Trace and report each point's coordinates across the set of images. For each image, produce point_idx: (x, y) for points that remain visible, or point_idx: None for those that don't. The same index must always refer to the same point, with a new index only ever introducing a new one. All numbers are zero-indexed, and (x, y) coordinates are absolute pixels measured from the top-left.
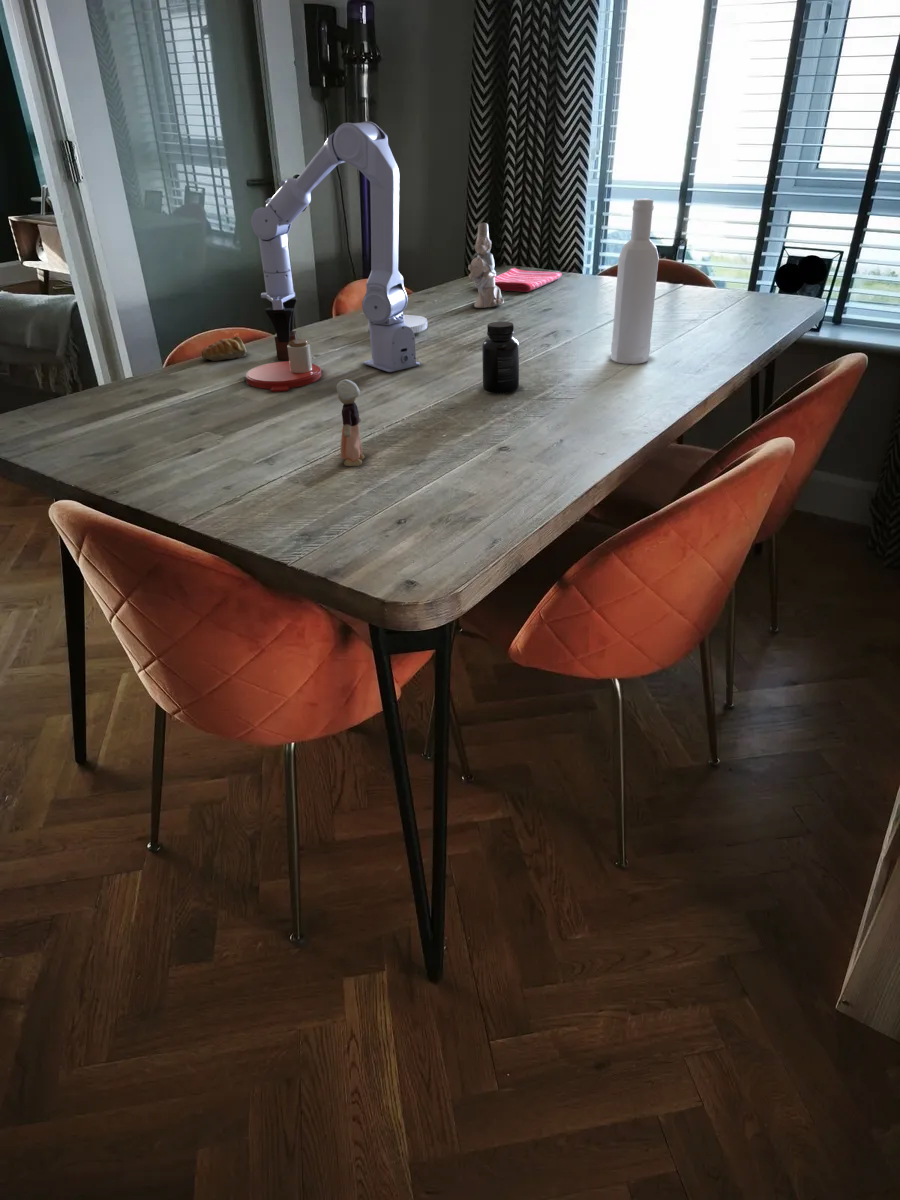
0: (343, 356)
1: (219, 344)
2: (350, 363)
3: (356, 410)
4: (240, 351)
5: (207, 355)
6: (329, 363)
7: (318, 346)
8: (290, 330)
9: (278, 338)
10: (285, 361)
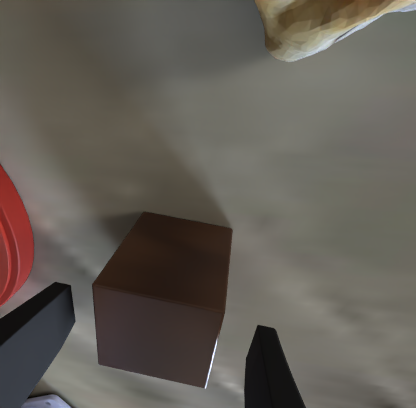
0: (145, 379)
1: None
2: (71, 374)
3: None
4: (260, 12)
5: None
6: (76, 340)
7: (303, 358)
8: (247, 370)
9: (35, 297)
10: (4, 242)
